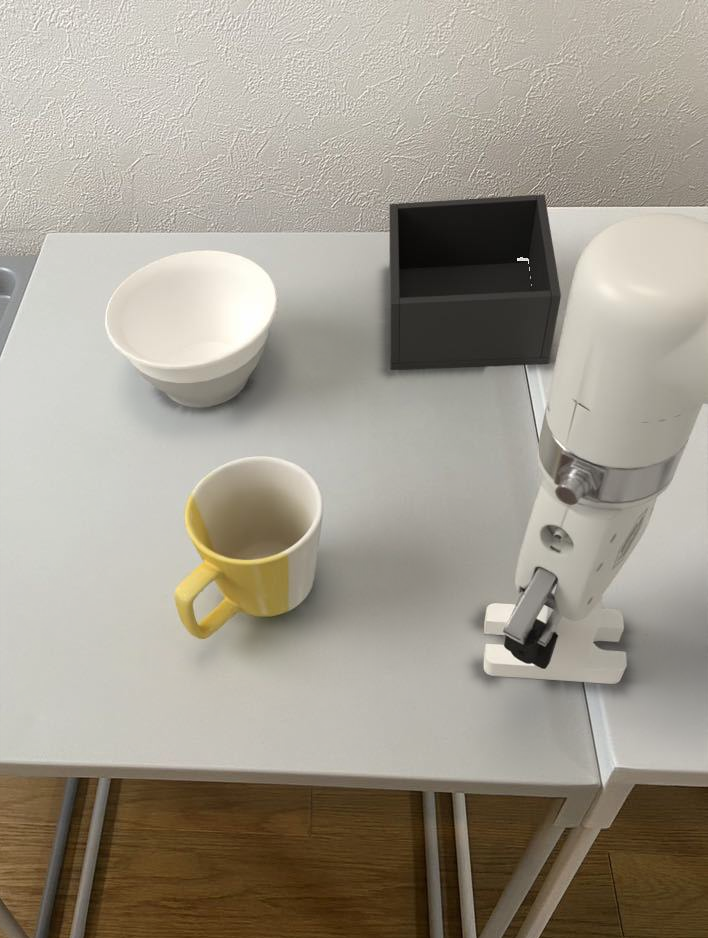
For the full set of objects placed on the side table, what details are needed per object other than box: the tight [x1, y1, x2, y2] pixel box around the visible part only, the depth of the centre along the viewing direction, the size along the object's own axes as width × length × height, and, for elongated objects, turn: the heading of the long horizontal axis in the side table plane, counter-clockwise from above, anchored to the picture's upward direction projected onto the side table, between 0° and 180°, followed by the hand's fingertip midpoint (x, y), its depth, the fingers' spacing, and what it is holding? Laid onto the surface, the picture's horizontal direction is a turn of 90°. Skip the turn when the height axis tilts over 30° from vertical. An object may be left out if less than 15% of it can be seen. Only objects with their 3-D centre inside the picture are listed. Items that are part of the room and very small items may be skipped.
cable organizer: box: [483, 584, 628, 685], centre depth 66 cm, size 5×10×10 cm, turn 82°
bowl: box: [104, 249, 279, 408], centre depth 88 cm, size 16×16×8 cm
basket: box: [388, 194, 562, 370], centre depth 89 cm, size 15×15×8 cm
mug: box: [173, 455, 324, 640], centre depth 72 cm, size 14×10×10 cm
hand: (560, 607), depth 66 cm, fingers open, 9 cm apart
